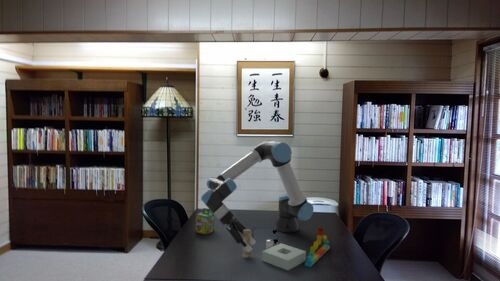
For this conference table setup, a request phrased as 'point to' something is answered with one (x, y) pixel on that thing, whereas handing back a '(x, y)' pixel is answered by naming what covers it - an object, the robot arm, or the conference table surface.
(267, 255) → the hole block
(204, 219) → the chalk box
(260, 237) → the conference table surface
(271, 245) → the short metal pin
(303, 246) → the conference table surface
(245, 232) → the tall beech pin
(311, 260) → the chart
